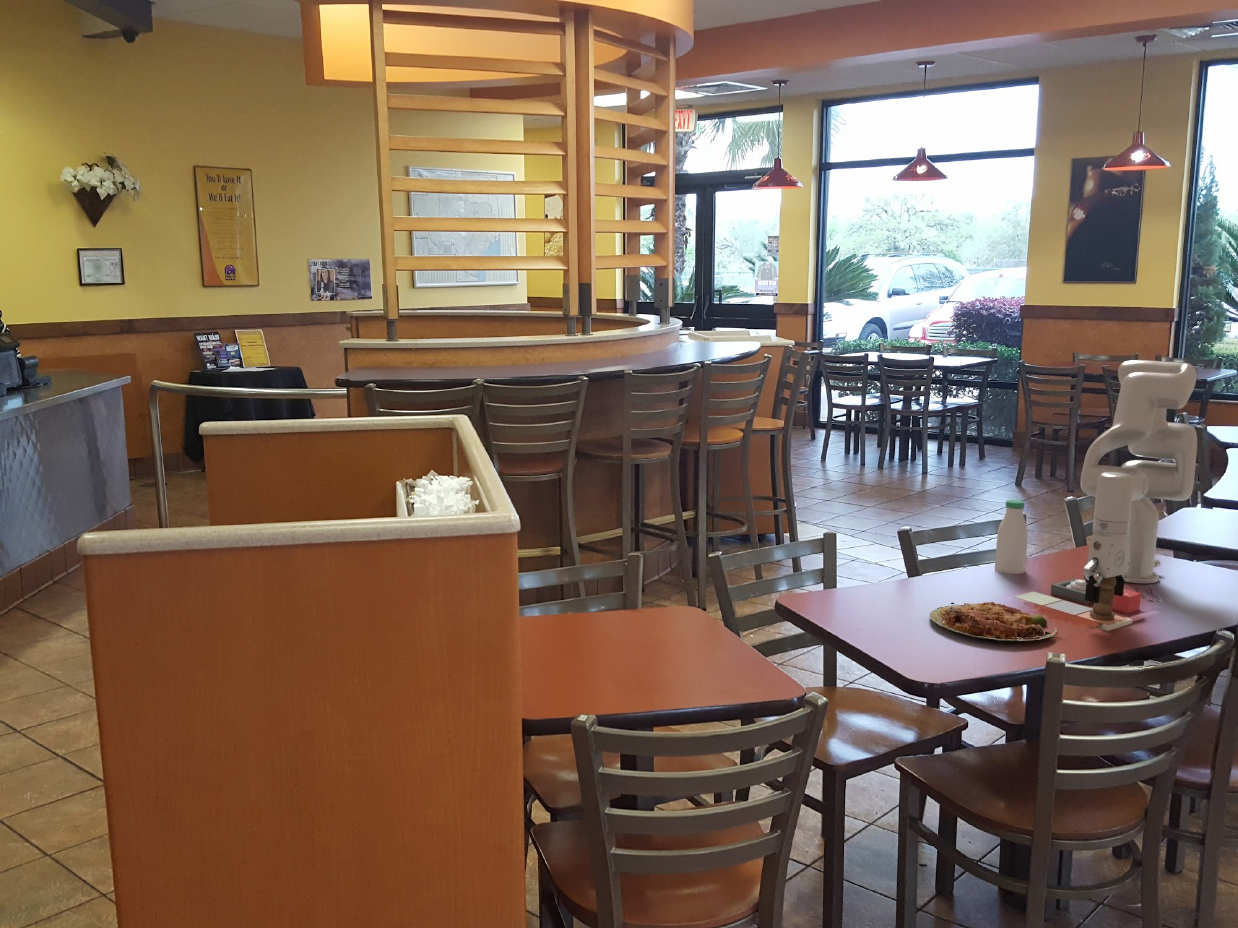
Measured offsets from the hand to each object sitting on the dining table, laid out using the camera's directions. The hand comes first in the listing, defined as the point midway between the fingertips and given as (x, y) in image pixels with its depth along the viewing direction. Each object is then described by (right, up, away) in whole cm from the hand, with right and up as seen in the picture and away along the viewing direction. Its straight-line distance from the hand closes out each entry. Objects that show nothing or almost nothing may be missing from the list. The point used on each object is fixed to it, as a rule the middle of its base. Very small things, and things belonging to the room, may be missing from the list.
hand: (1104, 598), depth 246 cm
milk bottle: (-7, +1, +40) cm, 40 cm away
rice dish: (-27, -7, -3) cm, 28 cm away
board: (-5, -4, +8) cm, 10 cm away
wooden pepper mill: (0, -5, +1) cm, 5 cm away
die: (+8, -4, +8) cm, 12 cm away
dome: (+2, -1, +17) cm, 17 cm away
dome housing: (+2, -3, +17) cm, 18 cm away
